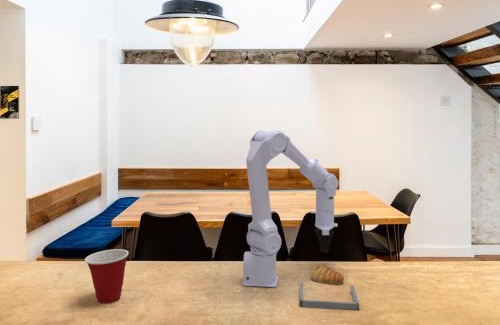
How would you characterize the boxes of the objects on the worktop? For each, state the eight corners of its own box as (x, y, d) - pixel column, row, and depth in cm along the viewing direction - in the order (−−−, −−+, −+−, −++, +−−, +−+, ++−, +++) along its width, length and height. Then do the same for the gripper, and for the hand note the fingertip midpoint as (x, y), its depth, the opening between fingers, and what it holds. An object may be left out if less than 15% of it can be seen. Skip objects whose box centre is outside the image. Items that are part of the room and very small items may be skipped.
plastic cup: (85, 294, 112) (84, 251, 111) (126, 289, 116) (126, 246, 115) (86, 310, 102) (85, 262, 101) (132, 303, 106) (131, 257, 105)
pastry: (347, 281, 123) (347, 268, 123) (338, 288, 118) (338, 275, 117) (318, 274, 128) (318, 262, 128) (308, 281, 123) (308, 268, 123)
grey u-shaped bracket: (299, 306, 104) (299, 300, 104) (300, 287, 117) (300, 282, 117) (359, 310, 102) (359, 304, 102) (353, 290, 115) (353, 285, 115)
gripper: (339, 214, 125) (338, 259, 126) (336, 206, 139) (335, 246, 140) (315, 214, 126) (315, 258, 127) (314, 205, 140) (314, 245, 141)
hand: (324, 252), depth 133 cm, fingers closed
